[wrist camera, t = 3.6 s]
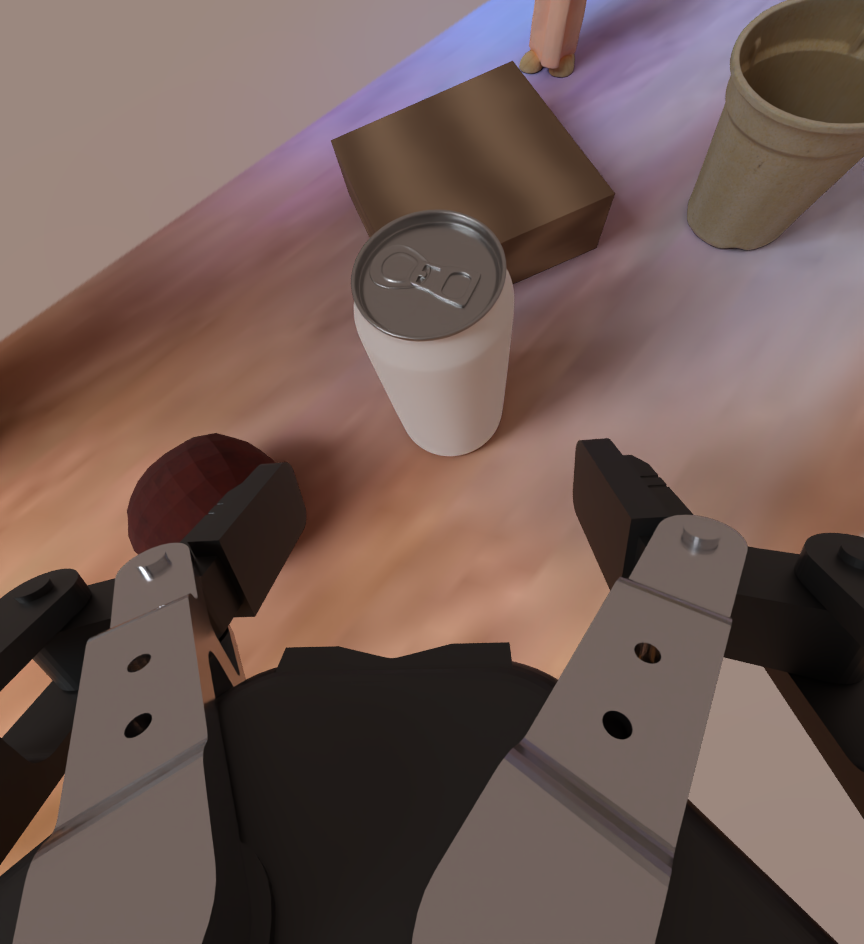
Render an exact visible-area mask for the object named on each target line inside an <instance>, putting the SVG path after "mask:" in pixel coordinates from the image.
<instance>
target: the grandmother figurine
mask: <svg viewBox="0 0 864 944" xmlns="http://www.w3.org/2000/svg"><path fill="white" fill-rule="evenodd" d="M585 7H586V0H535V5H534V12H533V18H532V26H531V35H530V43H529V47H530V49H531V50H530V51H528V52H527V53H526V54H525V55H524V56H523V57H522V59H521V61H520V65H519V67H520V70H521V71H523V72H525V73H535V72H538V71H539V70H541V69H542V67H547V68H549V73H550V74H551V75H552V76H556V77H566V76H568V75H570V74H571V73H572V72H573V69H574V61H575V56H574V53H575V51H576V47H577V43H578V39H579V34H580V30H581V26H582V21H583V17H584V13H585Z"/></svg>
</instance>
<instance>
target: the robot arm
mask: <svg viewBox="0 0 864 944" xmlns="http://www.w3.org/2000/svg"><path fill="white" fill-rule="evenodd" d="M573 503H574V508H575V512H576V515H577V517H578V519H579V522H580V524H581V526H582V528H583V531H584V533H585V535H586V537H587V540H588V542H589V544H590V546H591V549H592V551H593V553H594V555H595V558H596V560H597V562H598V564H599V567H600V569H601V571H602V573H603V576H604V578H605V580H606V582H607V585H608V587H609V589H610V592H609V594H608V596H607V597H606V599H605V601H604V603H603V604H602V606H601V608H600V609H599V611H598V613H597V615H596V616H595V618H594V620H593V621H592V623H591V625H590V627H589V628H588V630H587V632H586V633H585V635H584V637H583V639H582V640H581V642H580V644H579V645H578V647H577V649H576V651H575V652H574V654H573V656H572V657H571V659H570V661H569V663H568V664H567V666H566V668H565V669H564V671H563V673H562V674H561V676H560V678H559V680H557V679H556V678H554V677H553V676H551V675H549V674H547V673H545V672H543V671H540V670H538V669H536V668H533V667H530V666H527V665H524V664H521V663H517V662H513V661H512V659H511V651H510V644H509V642H508V643H465V644H449V645H445V646H441V647H437V648H434V649H430V650H426V651H422V652H418V653H414V654H410V655H406V656H402V657H398V658H385V657H381V656H377V655H372V654H368V653H364V652H360V651H356V650H351V649H347V648H343V647H339V646H336V647H293V648H286V649H285V651H284V654H283V656H282V658H281V660H280V663H279V665H278V667H277V668H273V669H270V670H267V671H265V672H262V673H259V674H257V675H255V676H253V677H251V678H249V679H246V678H245V674H244V670H243V666H242V663H241V659H240V655H239V651H238V647H237V644H236V640H235V636H234V633H233V631H232V629H231V627H230V625H229V624H230V622H231V621H232V619H233V617H255V616H256V614H257V612H258V611H259V609H260V607H261V605H262V603H263V602H264V600H265V598H266V596H267V594H268V593H269V591H270V589H271V587H272V585H273V584H274V582H275V580H276V578H277V576H278V575H279V573H280V571H281V569H282V567H283V566H284V564H285V562H286V560H287V558H288V557H289V555H290V553H291V551H292V549H293V548H294V546H295V544H296V542H297V540H298V539H299V537H300V535H301V533H302V531H303V530H304V528H305V524H306V508H305V505H304V502H303V499H302V496H301V493H300V490H299V486H298V483H297V480H296V477H295V474H294V471H293V469H292V467H291V465H290V464H289V463H287V462H282V463H269V464H260V465H259V466H258V467H257V468H256V469H255V470H254V471H253V472H252V473H251V474H250V475H249V476H248V477H247V478H246V479H245V480H244V482H243V483H241V484H240V485H238V486H237V487H235V488H233V489H232V490H230V491H229V492H227V493H226V494H225V495H224V497H223V498H222V499H221V500H220V501H219V502H218V503H217V505H215V506H214V507H213V508H212V509H211V510H210V511H209V512H208V515H205V516H204V517H203V518H202V520H201V521H200V522H199V523H198V524H197V525H196V526H195V527H194V528H193V529H192V530H191V531H190V532H189V533H188V534H187V535H186V536H185V537H184V538H183V539H182V540H181V541H180V543H168V544H163V545H160V546H157V547H154V548H151V549H149V550H147V551H145V552H143V553H141V554H139V555H137V556H135V557H134V558H133V559H131V560H130V561H128V562H127V563H126V564H125V565H124V566H123V567H122V568H121V569H120V570H119V571H118V573H117V575H116V578H115V579H111V580H107V581H103V582H99V583H95V584H91V585H88V586H87V585H86V583H85V582H84V580H83V579H82V578H81V576H80V575H79V574H78V572H77V571H76V570H74V569H59V570H55V571H51V572H48V573H45V574H42V575H39V576H37V577H35V578H33V579H30V580H28V581H26V582H24V583H23V584H21V585H19V586H17V587H16V588H14V589H13V590H11V591H10V592H8V593H7V594H6V595H4V596H3V597H2V598H1V599H0V691H1V690H2V689H3V688H4V687H5V686H6V685H7V684H8V683H9V682H10V681H11V680H12V679H13V678H14V677H15V676H16V675H17V674H18V673H19V672H20V671H21V670H22V669H23V668H24V667H25V666H26V665H27V664H28V663H29V662H30V661H31V660H32V659H33V660H34V661H35V662H36V663H37V664H38V665H39V666H40V667H41V668H42V669H43V670H44V672H45V673H46V674H47V675H48V676H49V677H50V678H51V679H52V680H53V681H52V682H51V683H50V684H49V686H48V687H47V688H46V689H45V690H44V691H43V692H42V693H41V695H40V696H39V697H38V698H37V699H36V700H35V701H34V702H33V704H32V705H31V706H30V707H29V708H28V709H27V710H26V711H25V713H24V714H23V715H22V716H21V717H20V718H19V719H18V720H17V722H16V723H15V724H14V725H13V726H12V727H11V728H10V729H9V731H8V732H7V733H6V734H5V735H4V736H3V737H2V738H0V865H1V863H2V862H3V860H4V859H5V857H6V856H7V855H8V853H9V852H10V850H11V849H12V848H13V846H14V845H15V843H16V842H17V840H18V839H19V838H20V836H21V835H22V833H23V832H24V831H25V829H26V828H27V826H28V825H29V823H30V822H31V821H32V819H33V818H34V816H35V815H36V814H37V812H38V811H39V809H40V808H41V806H42V805H43V804H44V802H45V801H46V799H47V798H48V797H49V795H50V794H51V792H52V791H53V789H54V788H55V787H56V785H57V784H58V782H59V781H60V780H61V778H62V777H63V775H64V774H65V776H64V782H63V788H62V795H61V801H60V807H59V813H58V819H57V823H56V826H55V829H54V831H53V833H52V834H51V835H50V836H49V837H47V838H46V839H45V840H44V841H43V842H41V843H40V844H39V845H38V846H36V847H35V848H34V849H33V850H32V851H30V852H29V853H28V854H27V855H26V856H24V857H23V858H22V859H21V860H19V861H18V862H17V863H16V864H15V865H13V866H12V867H11V868H10V869H9V870H7V871H6V872H5V873H4V874H2V875H1V876H0V944H838V943H837V942H836V941H835V940H834V939H833V938H832V937H831V936H830V935H829V934H828V933H827V932H826V931H825V930H824V929H823V928H822V927H821V926H819V925H818V923H817V922H816V921H814V920H813V919H812V918H811V917H810V916H809V915H808V914H807V913H806V912H805V911H804V910H803V909H802V908H801V907H800V906H799V905H798V904H797V903H796V902H795V901H794V900H793V899H792V898H791V897H789V896H788V895H787V894H786V893H785V892H784V891H783V890H782V889H781V888H780V887H779V886H778V885H777V884H776V883H775V882H774V881H773V880H772V879H771V878H770V877H769V876H768V875H767V874H765V872H763V871H762V870H761V869H760V868H759V867H758V866H757V865H756V864H755V863H754V862H753V861H752V860H751V859H750V858H749V857H748V856H747V855H746V854H745V853H744V852H743V851H742V850H741V849H740V848H738V847H737V846H736V845H735V844H734V843H733V842H732V841H731V840H730V839H729V838H728V837H727V836H726V835H725V834H724V833H723V832H722V831H721V830H720V829H719V828H718V827H717V826H716V825H715V824H714V823H712V822H711V821H710V820H709V819H708V818H707V817H706V816H705V815H704V814H703V813H702V812H701V811H700V810H699V809H698V808H697V807H696V806H695V805H694V804H693V803H692V802H691V801H690V800H689V799H688V795H689V791H690V787H691V783H692V779H693V776H694V772H695V768H696V764H697V760H698V756H699V752H700V748H701V744H702V740H703V736H704V732H705V727H706V724H707V720H708V716H709V712H710V708H711V704H712V700H713V696H714V692H715V688H716V684H717V680H718V676H719V672H720V668H721V664H722V660H723V657H725V658H729V659H733V660H738V661H742V662H746V663H750V664H754V665H758V666H763V667H764V668H765V670H766V671H767V673H768V674H769V676H770V677H771V679H772V680H773V682H774V684H775V685H776V687H777V688H778V690H779V691H780V693H781V694H782V696H783V697H784V699H785V700H786V702H787V703H788V705H789V706H790V708H791V709H792V711H793V712H794V714H795V715H796V717H797V718H798V720H799V721H800V723H801V724H802V726H803V727H804V729H805V730H806V732H807V734H808V735H809V737H810V738H811V739H812V741H813V743H814V744H815V746H816V747H817V749H818V750H819V752H820V753H821V755H822V756H823V758H824V759H825V761H826V762H827V764H828V766H829V767H830V768H831V770H832V772H833V773H834V775H835V776H836V778H837V779H838V781H839V782H840V784H841V785H842V786H843V788H844V790H845V791H846V793H847V794H848V796H849V797H850V799H851V800H852V802H853V803H854V805H855V807H856V808H857V809H858V811H859V813H860V814H861V816H862V817H863V819H864V538H863V537H859V536H854V535H849V534H841V533H822V534H817V535H814V536H811V537H810V538H808V539H807V541H806V542H805V544H804V546H803V549H802V551H801V553H800V554H793V553H786V552H780V551H773V550H766V549H759V548H753V547H748V546H747V543H746V541H745V539H744V538H743V537H742V536H741V535H740V534H739V533H738V532H737V531H736V530H734V529H733V528H731V527H730V526H728V525H726V524H724V523H722V522H719V521H717V520H714V519H710V518H707V517H702V516H696V515H693V514H692V513H691V511H690V510H689V509H688V508H687V507H686V506H685V505H684V504H683V502H682V501H681V500H680V499H679V498H678V497H677V496H676V495H675V493H674V492H673V491H672V490H671V489H670V488H669V487H667V486H666V483H665V482H664V481H663V480H662V479H661V478H660V477H658V474H657V473H656V472H655V471H654V470H653V469H652V468H651V466H650V465H649V464H648V463H646V462H644V461H642V460H640V459H638V458H636V457H634V456H632V455H622V454H621V452H620V451H619V450H618V449H617V447H616V446H615V445H614V444H613V442H612V441H611V440H610V439H609V438H605V439H592V440H579V441H578V442H577V445H576V453H575V468H574V482H573Z"/></svg>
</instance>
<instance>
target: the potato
mask: <svg viewBox="0 0 864 944" xmlns="http://www.w3.org/2000/svg"><path fill="white" fill-rule="evenodd" d="M269 463H275V462H274V461H273V460H272V459H271V458H270V457H268V456H267V455H266V454H265V453H263V452H262V451H261V450H259V449H258V448H256V447H255V446H253V445H252V444H250V443H248V442H246V441H242V440H239V439H236V438H232V437H229V436H225V435H221V434H217V433H214V434H208V435H203V436H198V437H193V438H191V439H189V440H187V441H185V442H184V443H182V444H180V445H179V446H177V447H175V448H174V449H172V450H170V451H169V452H167V453H165V454H164V455H163V456H162V457H161V458H159V459H158V460H157V461H156V462H155V463H153V464H152V465H151V466H150V467H149V468H148V469H147V470H146V472H145V473H144V474H143V476H142V477H141V478H140V480H139V481H138V482H137V484H136V487H135V489H134V491H133V493H132V495H131V498H130V502H129V505H128V509H127V514H128V536H129V539H130V541H131V544H132V546H133V549H134V551H135V552H136V553H137V554H138V555H139V554H141V553H143V552H145V551H147V550H149V549H151V548H154V547H157V546H160V545H163V544H168V543H180V541H181V540H182V539H183V538H184V537H185V536H186V535H187V534H188V533H189V532H190V531H191V530H192V529H193V528H194V527H195V526H196V525H197V524H198V523H199V522H200V521H201V520H202V518H203V517H204V516H205V515H208V512H209V511H210V510H211V509H212V508H213V507H214V506H215V505H217V503H218V502H219V501H220V500H221V499H222V498H223V497H224V495H225V494H226V493H227V492H229V491H230V490H232V489H233V488H235V487H237V486H238V485H240V484H241V483H243V482H244V480H245V479H246V478H247V477H248V476H249V475H250V474H251V473H252V472H253V471H254V470H255V469H256V468H257V467H258V466H259V465H260V464H269Z"/></svg>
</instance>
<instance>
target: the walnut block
mask: <svg viewBox="0 0 864 944" xmlns="http://www.w3.org/2000/svg"><path fill="white" fill-rule="evenodd" d="M331 142H332V145H333V148H334V151H335V154H336V157H337V160H338V163H339V166H340V169H341V172H342V175H343V178H344V180H345V183H346V186H347V189H348V192H349V195H350V197H351V199H352V201H353V203H354V205H355V207H356V210H357V212H358V214H359V216H360V218H361V220H362V222H363V224H364V226H365V229H366V231H367V233H368V235H369V237H371V236H372V235H373V234H375V233H376V232H377V231H378V230H379V229H381V228H382V227H383V226H385V225H386V224H388V223H390V222H391V221H393V220H395V219H397V218H400V217H402V216H405V215H407V214H411V213H414V212H419V211H425V210H450V211H456V212H460V213H463V214H466V215H469V216H471V217H473V218H475V219H477V220H479V221H480V222H482V223H483V224H484V225H486V226H487V227H488V228H489V229H490V230H491V231H492V232H493V233H494V234H495V236H496V237H497V238H498V240H499V242H500V243H501V245H502V248H503V250H504V254H505V258H506V268H507V270H508V272H509V275H510V277H511V280H512V284H514V283H516V282H519V281H521V280H523V279H526V278H528V277H530V276H532V275H535V274H537V273H539V272H542V271H544V270H546V269H549V268H551V267H553V266H555V265H558V264H560V263H562V262H565V261H567V260H569V259H572V258H574V257H576V256H578V255H581V254H583V253H585V252H588V251H590V250H592V249H595V248H597V245H598V242H599V239H600V236H601V233H602V230H603V227H604V224H605V221H606V218H607V215H608V212H609V210H610V207H611V204H612V201H613V198H614V195H615V193H614V192H613V190H612V189H611V188H610V186H609V185H608V184H607V182H606V181H605V180H604V179H603V177H602V176H601V175H600V173H599V172H598V171H597V169H596V168H595V167H594V166H593V164H592V163H591V162H590V160H589V159H588V158H587V157H586V155H585V154H584V153H583V151H582V150H581V149H580V147H579V146H578V145H577V144H576V142H575V141H574V140H573V138H572V137H571V136H570V134H569V133H568V132H567V131H566V129H565V128H564V127H563V125H562V124H561V123H560V122H559V120H558V119H557V118H556V116H555V115H554V114H553V112H552V111H551V110H550V109H549V107H548V106H547V105H546V103H545V102H544V101H543V99H542V98H541V97H540V96H539V94H538V93H537V92H536V90H535V89H534V88H533V87H532V85H531V84H530V83H529V81H528V80H527V79H526V77H525V76H524V75H523V74H522V72H521V71H520V70H519V68H518V67H517V66H516V64H515V63H514V62H513V61H511V62H509V63H507V64H504V65H502V66H500V67H497V68H495V69H493V70H491V71H488V72H486V73H484V74H481V75H479V76H477V77H475V78H472V79H470V80H468V81H465V82H463V83H461V84H459V85H456V86H454V87H452V88H450V89H447V90H445V91H443V92H440V93H438V94H436V95H434V96H431V97H429V98H427V99H424V100H422V101H420V102H418V103H415V104H413V105H411V106H408V107H406V108H404V109H402V110H399V111H397V112H395V113H392V114H390V115H388V116H386V117H383V118H381V119H379V120H376V121H374V122H372V123H370V124H367V125H365V126H363V127H361V128H358V129H356V130H354V131H351V132H349V133H347V134H345V135H342V136H340V137H338V138H335V139H333V140H331Z"/></svg>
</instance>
